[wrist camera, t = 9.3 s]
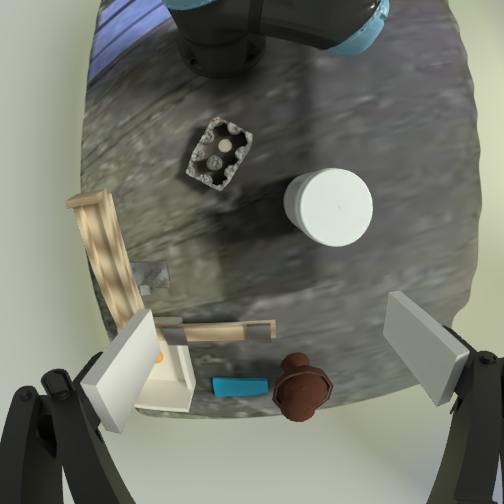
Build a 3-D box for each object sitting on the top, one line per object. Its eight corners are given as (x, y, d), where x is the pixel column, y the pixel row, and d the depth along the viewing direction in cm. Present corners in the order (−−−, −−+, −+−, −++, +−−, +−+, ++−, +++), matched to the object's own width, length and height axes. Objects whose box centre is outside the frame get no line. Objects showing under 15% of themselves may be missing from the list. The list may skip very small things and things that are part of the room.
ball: (152, 362, 51) (151, 348, 52) (165, 363, 51) (165, 349, 52) (146, 363, 48) (146, 348, 49) (160, 364, 48) (159, 349, 49)
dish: (122, 316, 50) (102, 339, 41) (181, 316, 50) (168, 342, 41) (141, 379, 54) (128, 406, 45) (195, 382, 54) (188, 412, 45)
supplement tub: (307, 240, 46) (330, 265, 32) (270, 198, 45) (279, 205, 30) (348, 204, 45) (387, 213, 30) (314, 160, 43) (341, 151, 29)
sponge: (268, 398, 54) (269, 381, 52) (213, 397, 54) (211, 380, 52) (267, 393, 56) (269, 376, 54) (214, 392, 56) (212, 375, 54)
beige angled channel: (80, 191, 32) (65, 201, 29) (269, 166, 32) (272, 174, 28) (131, 336, 45) (124, 352, 42) (275, 334, 45) (277, 352, 41)
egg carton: (218, 118, 42) (215, 112, 38) (257, 139, 43) (257, 135, 39) (185, 171, 44) (179, 170, 40) (223, 193, 45) (220, 194, 41)
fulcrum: (114, 263, 47) (93, 276, 40) (166, 260, 47) (151, 274, 39) (119, 288, 49) (100, 304, 41) (171, 286, 48) (157, 304, 41)
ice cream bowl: (307, 386, 54) (320, 437, 40) (261, 374, 53) (263, 427, 39) (331, 350, 52) (352, 399, 37) (282, 335, 51) (292, 386, 36)
